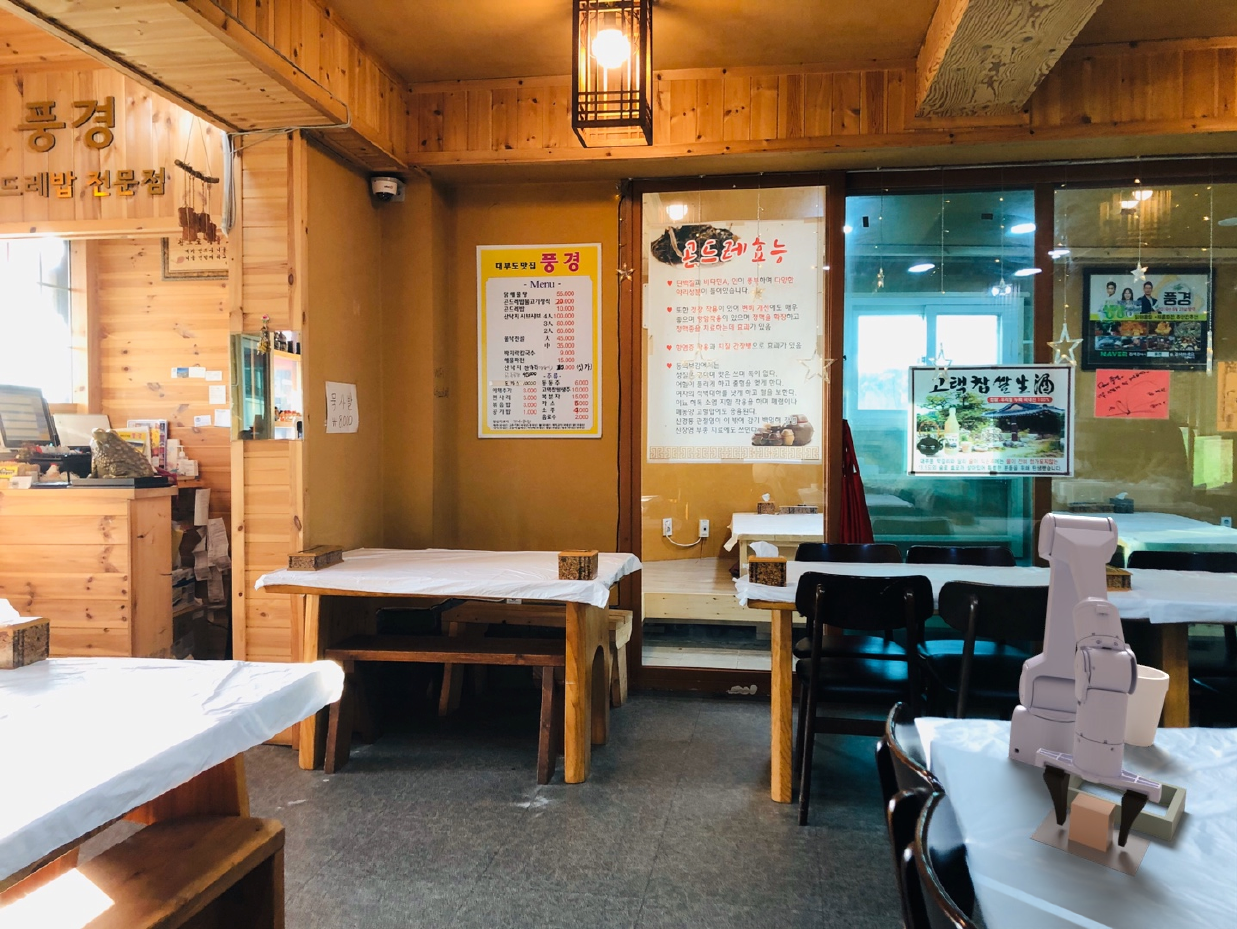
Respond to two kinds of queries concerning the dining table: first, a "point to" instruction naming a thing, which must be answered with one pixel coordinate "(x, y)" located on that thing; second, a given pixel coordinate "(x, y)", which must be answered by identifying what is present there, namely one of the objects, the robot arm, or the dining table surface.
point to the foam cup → (1145, 706)
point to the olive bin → (1144, 820)
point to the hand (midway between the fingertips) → (1091, 833)
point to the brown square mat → (1114, 857)
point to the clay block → (1092, 822)
